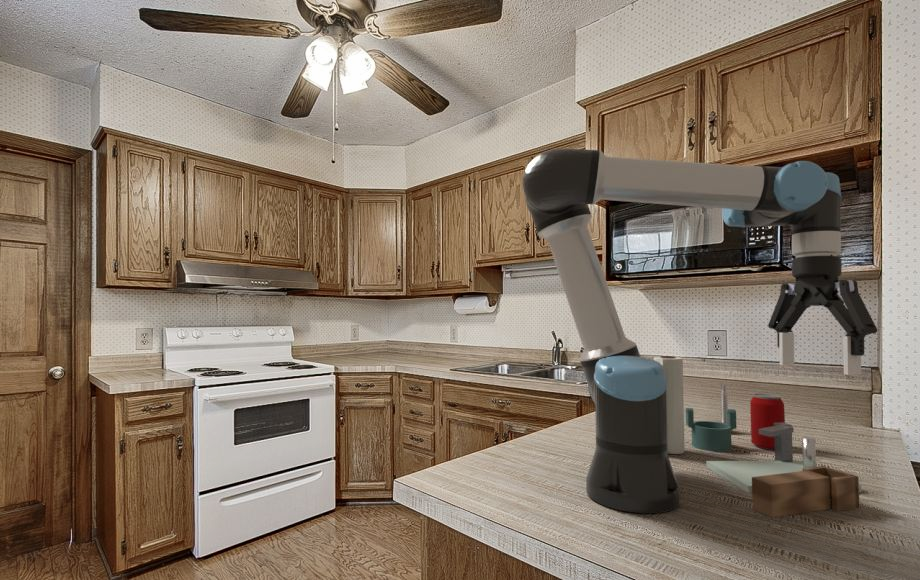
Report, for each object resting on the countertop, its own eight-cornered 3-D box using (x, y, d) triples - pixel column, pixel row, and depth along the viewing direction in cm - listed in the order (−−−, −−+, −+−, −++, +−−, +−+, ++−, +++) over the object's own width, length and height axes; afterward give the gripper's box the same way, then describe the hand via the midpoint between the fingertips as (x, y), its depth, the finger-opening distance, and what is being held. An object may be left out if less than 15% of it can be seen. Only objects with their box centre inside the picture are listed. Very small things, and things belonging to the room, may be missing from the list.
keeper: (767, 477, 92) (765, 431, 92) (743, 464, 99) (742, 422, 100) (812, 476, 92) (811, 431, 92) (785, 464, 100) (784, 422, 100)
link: (778, 520, 73) (777, 487, 73) (747, 506, 78) (746, 475, 79) (859, 507, 77) (858, 476, 78) (824, 495, 83) (823, 465, 83)
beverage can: (790, 448, 111) (789, 396, 112) (777, 453, 108) (776, 399, 108) (759, 441, 117) (758, 392, 117) (745, 446, 113) (744, 394, 114)
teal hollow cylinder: (740, 448, 111) (738, 409, 112) (716, 454, 107) (715, 413, 107) (703, 439, 119) (702, 403, 120) (680, 445, 114) (679, 407, 115)
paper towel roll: (671, 446, 113) (669, 355, 114) (690, 453, 107) (688, 357, 108) (645, 449, 111) (644, 356, 112) (664, 456, 105) (662, 358, 106)
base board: (748, 492, 84) (748, 485, 84) (706, 466, 98) (706, 461, 98) (861, 492, 84) (861, 485, 84) (803, 466, 98) (803, 460, 98)
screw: (715, 428, 130) (735, 431, 127) (713, 432, 125) (735, 435, 123) (713, 380, 130) (734, 381, 128) (712, 382, 126) (733, 384, 124)
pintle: (808, 476, 89) (807, 440, 89) (800, 472, 91) (799, 437, 91) (819, 476, 89) (817, 439, 89) (811, 472, 91) (809, 437, 91)
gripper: (903, 249, 79) (905, 379, 78) (779, 263, 104) (780, 361, 103) (864, 247, 78) (866, 379, 77) (748, 262, 102) (749, 361, 101)
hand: (817, 369), depth 90 cm, fingers open, 13 cm apart
